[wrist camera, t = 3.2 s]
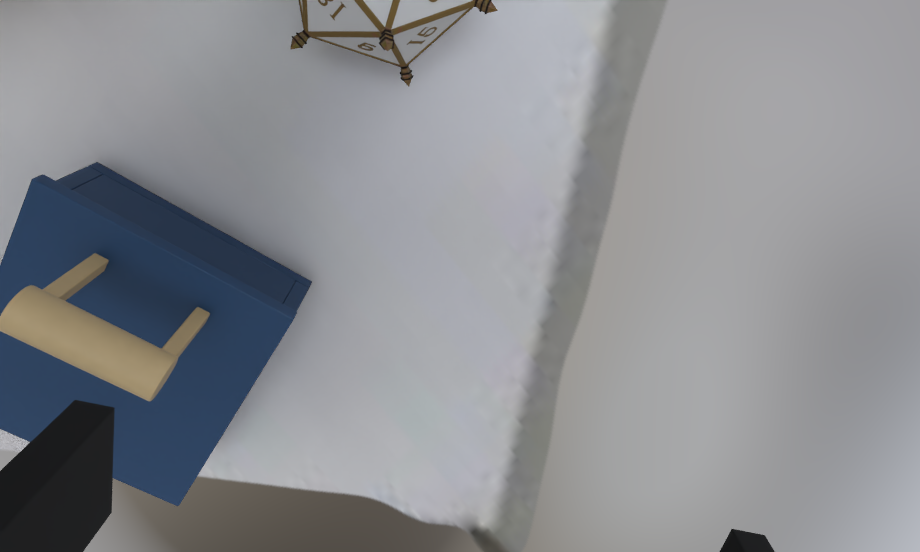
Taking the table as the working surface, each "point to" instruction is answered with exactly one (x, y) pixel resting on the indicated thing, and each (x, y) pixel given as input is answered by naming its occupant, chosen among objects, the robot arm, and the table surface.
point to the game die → (383, 26)
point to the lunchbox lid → (126, 336)
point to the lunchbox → (188, 233)
